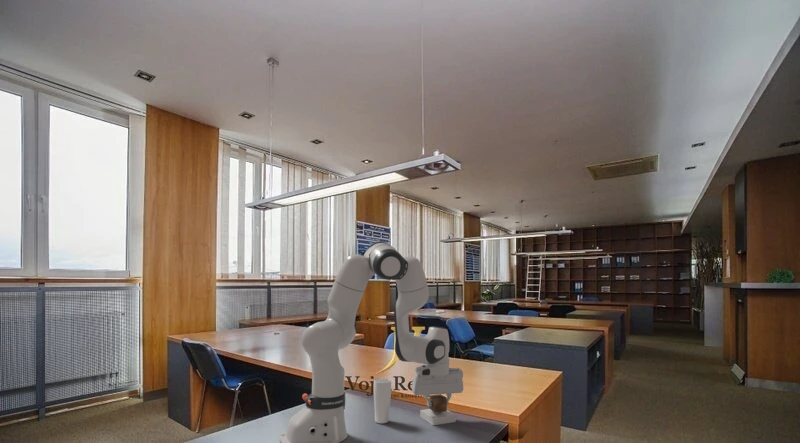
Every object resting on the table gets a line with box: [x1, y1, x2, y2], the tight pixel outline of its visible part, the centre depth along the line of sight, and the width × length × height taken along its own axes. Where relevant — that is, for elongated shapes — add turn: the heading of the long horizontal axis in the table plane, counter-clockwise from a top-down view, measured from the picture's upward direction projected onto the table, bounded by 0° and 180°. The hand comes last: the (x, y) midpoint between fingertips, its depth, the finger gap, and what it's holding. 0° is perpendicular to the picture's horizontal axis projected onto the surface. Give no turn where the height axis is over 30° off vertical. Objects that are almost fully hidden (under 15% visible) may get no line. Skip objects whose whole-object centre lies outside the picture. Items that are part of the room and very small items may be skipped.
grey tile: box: [419, 408, 457, 426], centre depth 161 cm, size 10×10×2 cm
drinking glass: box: [373, 377, 392, 425], centre depth 158 cm, size 7×7×15 cm
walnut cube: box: [428, 394, 448, 413], centre depth 161 cm, size 5×5×5 cm
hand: (437, 405), depth 161 cm, fingers closed on walnut cube, 5 cm apart
